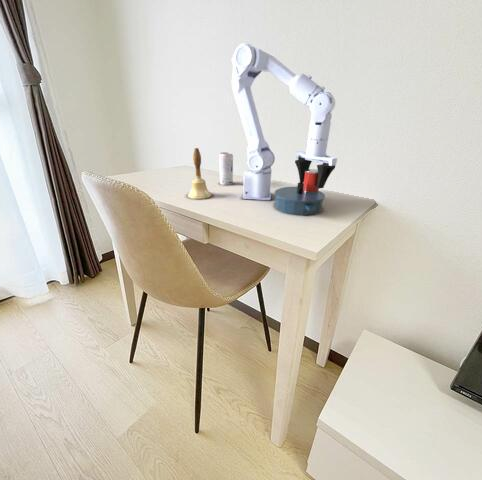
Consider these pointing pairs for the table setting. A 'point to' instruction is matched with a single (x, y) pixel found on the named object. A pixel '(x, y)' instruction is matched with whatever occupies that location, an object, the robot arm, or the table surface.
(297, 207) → the pot
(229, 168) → the energy drink
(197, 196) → the hand bell
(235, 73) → the robot arm
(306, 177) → the tin can
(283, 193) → the lid
